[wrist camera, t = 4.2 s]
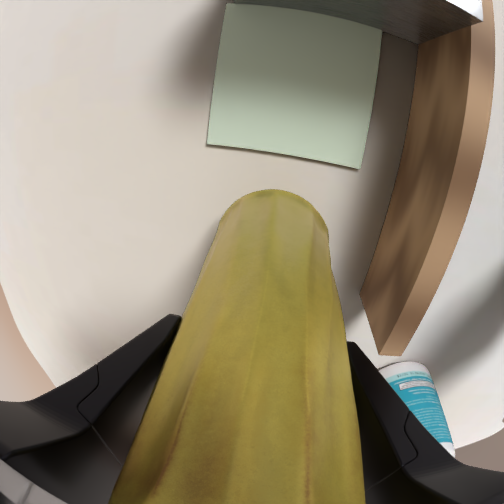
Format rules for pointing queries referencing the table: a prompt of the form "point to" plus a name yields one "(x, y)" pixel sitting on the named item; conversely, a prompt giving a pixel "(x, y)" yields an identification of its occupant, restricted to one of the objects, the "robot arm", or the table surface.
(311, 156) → the mat
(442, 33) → the bookend
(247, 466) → the vase
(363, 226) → the table surface
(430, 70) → the back rail
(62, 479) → the robot arm
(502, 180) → the table surface
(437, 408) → the pill bottle
